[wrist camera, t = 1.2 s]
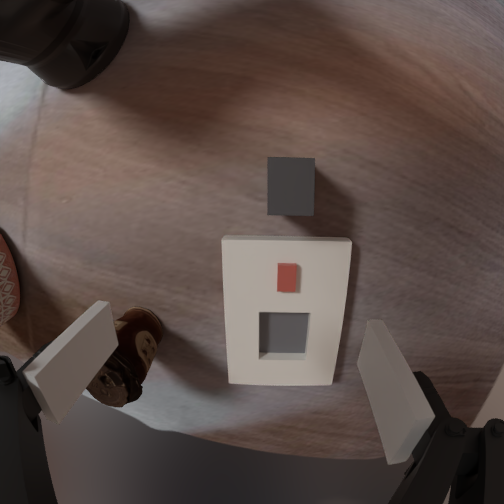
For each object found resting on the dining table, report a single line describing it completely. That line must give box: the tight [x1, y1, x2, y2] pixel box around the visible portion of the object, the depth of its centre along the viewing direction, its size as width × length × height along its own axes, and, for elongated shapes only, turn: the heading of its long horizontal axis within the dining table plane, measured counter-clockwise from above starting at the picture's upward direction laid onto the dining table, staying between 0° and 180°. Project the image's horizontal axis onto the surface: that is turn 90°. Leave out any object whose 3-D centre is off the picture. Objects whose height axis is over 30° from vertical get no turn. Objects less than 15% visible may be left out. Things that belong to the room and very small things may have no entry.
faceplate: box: [222, 235, 352, 386], centre depth 34 cm, size 20×14×3 cm
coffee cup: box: [86, 307, 163, 407], centre depth 32 cm, size 9×8×13 cm
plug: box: [268, 157, 315, 216], centre depth 28 cm, size 5×4×7 cm
